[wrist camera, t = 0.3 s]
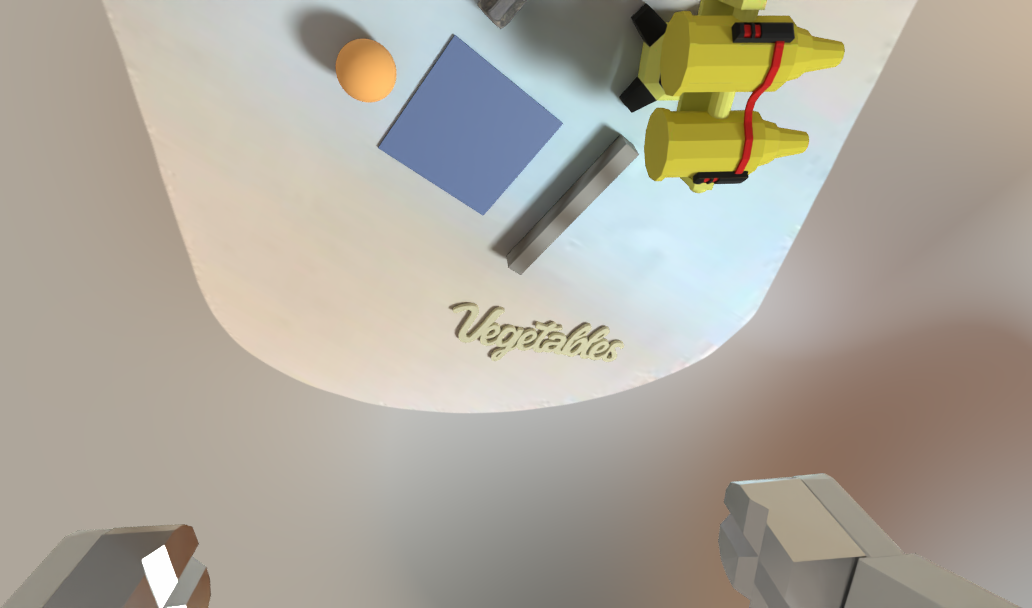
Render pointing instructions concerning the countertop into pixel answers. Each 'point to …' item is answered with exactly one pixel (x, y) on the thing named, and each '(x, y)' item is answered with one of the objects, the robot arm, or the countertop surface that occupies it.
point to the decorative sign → (520, 336)
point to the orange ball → (366, 70)
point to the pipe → (501, 10)
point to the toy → (719, 88)
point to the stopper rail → (572, 204)
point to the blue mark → (469, 128)
